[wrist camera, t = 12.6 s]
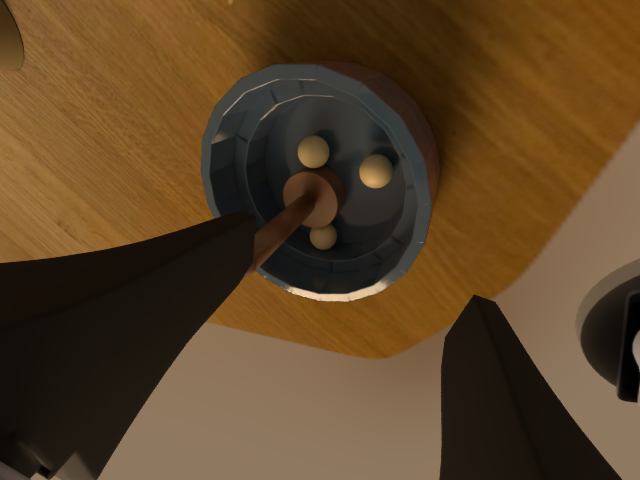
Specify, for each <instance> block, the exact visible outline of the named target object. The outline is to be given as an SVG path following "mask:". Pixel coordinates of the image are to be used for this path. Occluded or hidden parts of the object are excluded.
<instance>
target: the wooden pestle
mask: <svg viewBox="0 0 640 480" xmlns="http://www.w3.org/2000/svg"><path fill="white" fill-rule="evenodd" d="M283 200H284V204H285V207H286V208H285V209H284V210H283V211H282V212H280V213H279V214H278V215H277V216H276V217H275V218H273V219H272V220H271V221H270V222H269V223H267V224H266V225H265V226H264V227H263V228H262V229H260V230H259V231H258V232H257V233H256V234H255V241H254V255H253V263H252V265H251V266H250V268H249V269H248V271H247V272H246V274H245V276H249V275H251V274H252V273H254V272H255V271H256V270H257V269H258V268H259V267H260V266H261V264H262V263H263V262H264V261H265V260H266V259H267V258H268V257H269V256H270V255H271V254H272V253H273V252H274V251H275V250H276V249H277V248H278V247H279V246H280V245H281V244H282V243H283V242H284V241H285V240H286V239H287V238H288V237H289V236H290V235H291V234H292V233H293V232H294V231H295V230H296V229H297V228H298V227H299V226H300V225H301V224H302V225H304V226H307V227H311V228H320V227H323V226H326V225H328V224H329V223H330V222H331V221H332V220H333V219H334V218H335V217H336V216H337V214H338V213H339V212H340V211H341V209H342V208H343V206H344V204H345V201H346V189H345V186H344V183H343V181H342V179H341V178H340V176H339V175H338V174H337V173H336V172H335V171H334V170H332V169H331V168H329V167H327V166H324V165H323V166H321V167H319V168H309V167H304V168H302V169H301V170H300V171H298V172H297V173H295V174H294V175H292V176H291V177H290V178H289V179H288V180H287V182H286V184H285V186H284V189H283Z"/></svg>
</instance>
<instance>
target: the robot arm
mask: <svg viewBox="0 0 640 480" xmlns="http://www.w3.org/2000/svg"><path fill="white" fill-rule="evenodd" d="M255 226H256V216H254V215H251V214H248V213H246V212H243V211H237V212H233V213H230V214H227V215H224V216H221V217H218V218H215V219H212V220H209V221H206V222H203V223H200V224H197V225H194V226H191V227H188V228H185V229H182V230H179V231H176V232H172V233H169V234H165V235H162V236H159V237H155V238H152V239H148V240H145V241H141V242H137V243H133V244H129V245H124V246H119V247H115V248H110V249H105V250H100V251H94V252H87V253H81V254H75V255H68V256H62V257H55V258H47V259H38V260H30V261H19V262H8V263H0V480H30V478H31V477H32V476H33V475H34V474H35V473H38V474H39V475H41V476H43V477H44V478H46V479H48V480H49V479H51V478H52V477H53V476H54V475H55V476H56V477H58V478H60V479H62V480H97V479H98V477H99V476H100V474H101V472H102V470H103V469H104V467H105V465H106V464H107V462H108V461H109V459H110V457H111V456H112V454H113V452H114V451H115V449H116V448H117V446H118V444H119V443H120V441H121V439H122V438H123V436H124V434H125V433H126V431H127V430H128V428H129V427H130V425H131V424H132V422H133V421H134V419H135V417H136V416H137V414H138V413H139V411H140V410H141V408H142V407H143V405H144V404H145V402H146V401H147V399H148V398H149V396H150V395H151V393H152V392H153V390H154V389H155V387H156V386H157V385H158V383H159V382H160V380H161V379H162V377H163V376H164V374H165V373H166V371H167V370H168V368H169V367H170V366H171V365H172V363H173V361H174V360H175V359H176V357H177V356H178V355H179V353H180V352H181V351H182V349H183V348H184V347H185V345H186V344H187V343H188V341H189V340H190V339H191V338H192V336H193V335H194V334H195V333H196V332H197V331H198V330H199V328H200V327H201V326H202V325H203V324H204V323H205V322H206V321H207V320H208V318H209V317H210V316H211V315H212V314H213V313H214V312H215V311H216V309H217V308H218V307H219V306H220V305H221V304H222V303H223V302H224V300H225V299H226V298H227V297H228V296H229V295H230V294H231V292H232V291H233V290H234V289H235V288H236V287H237V286H238V284H239V283H240V281H241V280H242V278H243V277H244V276H245V274H246V272H247V271H248V269H249V268H250V266H251V265H252V263H253V255H254V241H255ZM639 302H640V289H633V290H631V291H629V292H628V293H627V294H626V299H625V308H624V317H623V327H622V336H621V346H620V355H619V364H618V374H617V383H616V395H617V397H618V398H619V399H620V400H622V401H626V402H634V403H638V404H639V407H640V304H639V305H633V304H635V303H639ZM441 413H442V414H441V416H442V417H441V421H442V422H441V424H442V449H441V452H442V453H441V468H440V479H439V480H622V479H621V478H620V476H619V475H618V474H617V473H616V472H615V470H614V469H613V468H612V467H611V466H610V465H609V463H608V462H607V461H606V460H605V459H604V457H603V456H602V455H601V454H600V452H599V451H598V450H597V449H596V447H595V446H594V445H593V444H592V442H591V441H590V440H589V439H588V438H587V436H586V435H585V434H584V432H583V431H582V430H581V429H580V427H579V426H578V425H577V423H576V422H575V421H574V419H573V418H572V417H571V416H570V414H569V413H568V411H567V410H566V409H565V407H564V406H563V404H562V403H561V402H560V400H559V399H558V398H557V396H556V395H555V393H554V392H553V391H552V389H551V388H550V386H549V385H548V383H547V382H546V380H545V379H544V377H543V376H542V375H541V373H540V372H539V370H538V369H537V367H536V366H535V364H534V363H533V361H532V359H531V358H530V356H529V355H528V353H527V352H526V350H525V348H524V347H523V345H522V344H521V342H520V340H519V339H518V337H517V336H516V334H515V332H514V331H513V329H512V327H511V326H510V324H509V323H508V321H507V319H506V318H505V316H504V315H503V313H502V311H501V310H500V308H499V307H498V305H497V304H496V302H494V301H491V300H488V299H485V298H483V297H480V296H477V295H473V297H472V298H471V300H470V301H469V303H468V304H467V306H466V307H465V308H464V310H463V311H462V313H461V314H460V316H459V317H458V319H457V320H456V322H455V323H454V325H453V326H452V328H451V329H450V331H449V332H448V334H447V335H446V337H445V342H444V349H443V356H442V365H441Z"/></svg>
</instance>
